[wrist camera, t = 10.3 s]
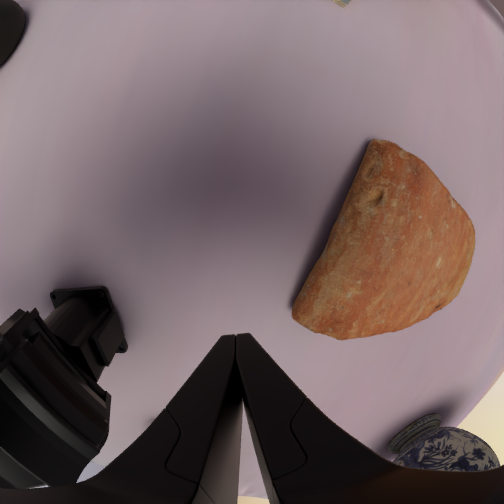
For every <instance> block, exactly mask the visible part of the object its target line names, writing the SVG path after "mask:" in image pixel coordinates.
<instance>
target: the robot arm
mask: <svg viewBox="0 0 504 504" xmlns="http://www.w3.org/2000/svg"><path fill="white" fill-rule="evenodd" d="M101 292H103V293H104V295H103V294H101ZM55 296H56V297H55ZM50 297H51V300H52V302H53V305H54V308H55V310H54V311H53V312H52V313H51V314H50V315H49V316H48V317H47V318H46V319H45V320H44V321H43V320H42V318H41V317H40V315H39V312H38V311H37V309H36V308H34V309H33V310H32V311H31V312H30V313H29V311H26V312H25V311H23V310H21V309H18V310H17V311H16V312H15V313H14V314H13V315H12V316H11V317H10V318H9V319H7V320H6V321H5V322H4V323H3V324H2V325H1V326H0V504H237V498H238V482H239V465H240V448H241V431H242V414H243V403H244V408H245V412H246V417H247V421H248V425H249V429H250V433H251V437H252V441H253V444H254V448H255V452H256V456H257V460H258V463H259V467H260V471H261V474H262V478H263V481H264V485H265V488H266V492H267V495H268V499H269V502H270V504H504V465H502V466H500V467H498V468H494V469H490V470H484V471H444V470H430V469H420V468H411V467H405V466H402V465H398V464H395V463H393V462H391V461H389V460H387V459H385V458H383V457H382V456H380V455H378V454H377V453H375V452H374V451H372V450H371V449H370V448H368V447H367V446H365V445H364V444H362V443H361V442H359V441H358V440H357V439H355V438H354V437H352V436H351V435H350V434H348V433H347V432H346V431H344V430H343V429H342V428H340V427H339V426H338V425H337V424H335V423H334V422H333V421H332V420H330V419H329V418H328V417H327V416H326V415H325V414H324V413H323V412H322V411H321V410H320V409H319V408H318V407H316V405H315V404H314V403H313V402H312V401H311V400H310V399H309V398H307V396H306V395H305V394H304V393H303V392H302V391H301V390H300V389H299V388H298V386H297V385H296V384H295V383H294V382H293V381H292V380H291V379H290V378H289V377H288V376H287V374H286V373H285V372H284V371H283V370H282V369H281V368H280V367H279V366H278V365H277V363H276V362H275V361H274V360H273V359H272V358H271V357H270V355H269V354H268V353H267V352H266V351H265V350H264V349H263V348H262V346H261V345H260V344H259V343H258V342H257V341H256V339H255V338H254V337H253V336H252V335H251V334H250V333H243V334H237V335H236V336H235V335H234V334H232V335H222V336H221V337H220V338H219V340H218V341H217V342H216V344H215V345H214V346H213V347H212V349H211V350H210V351H209V353H208V354H207V355H206V356H205V358H204V359H203V360H202V362H201V363H200V364H199V365H198V367H197V368H196V369H195V371H194V372H193V373H192V374H191V376H190V377H189V378H188V379H187V381H186V382H185V383H184V385H183V386H182V387H181V388H180V390H179V391H178V392H177V393H176V395H175V396H174V397H173V398H172V400H171V401H170V402H169V403H168V405H167V406H166V408H165V409H163V411H162V412H161V413H160V414H159V415H158V417H157V418H156V419H155V420H154V421H153V422H152V424H151V425H150V426H149V427H148V428H147V429H146V430H145V431H144V432H143V433H142V434H141V435H140V436H139V437H138V438H137V439H136V440H135V441H134V442H133V443H132V444H131V445H130V446H129V447H128V448H127V449H126V450H124V451H123V452H122V453H121V454H120V455H119V456H118V457H117V458H115V459H114V460H113V461H112V462H111V463H110V464H109V465H108V466H106V467H105V468H104V469H103V470H102V471H100V472H99V473H98V474H97V475H95V476H93V477H92V478H89V479H87V480H85V481H82V482H79V483H76V482H77V479H78V478H79V476H80V474H81V473H82V471H83V469H84V468H85V467H86V466H87V464H88V463H89V462H90V461H91V460H92V459H93V458H94V457H95V456H96V455H98V454H99V453H100V450H101V448H102V447H103V446H104V444H105V442H106V440H107V437H108V433H109V420H110V406H111V395H110V394H109V393H108V392H107V391H104V390H103V389H102V388H101V387H100V386H99V385H98V384H97V381H98V379H99V377H100V375H101V373H102V371H103V369H104V367H105V366H109V365H110V363H111V361H112V359H113V357H114V355H115V353H125V352H126V351H127V348H128V347H127V344H126V341H125V339H124V333H123V331H122V328H121V325H120V322H119V320H118V317H117V314H116V312H115V311H114V308H113V305H112V302H111V299H110V296H109V293H108V290H107V289H106V288H105V287H89V288H75V289H59V290H53V291H52V292H51V293H50ZM121 347H123V348H121ZM45 485H48V486H49V487H44V488H35V487H40V486H45ZM29 488H32V489H29Z"/></svg>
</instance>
